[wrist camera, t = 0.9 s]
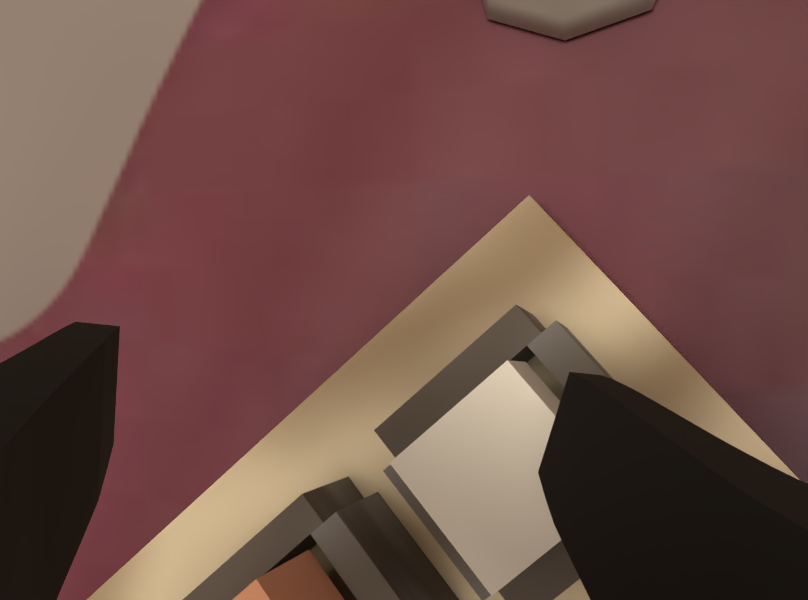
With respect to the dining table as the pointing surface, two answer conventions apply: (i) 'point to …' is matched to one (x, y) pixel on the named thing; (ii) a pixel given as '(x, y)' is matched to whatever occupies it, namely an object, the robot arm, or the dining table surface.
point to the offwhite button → (489, 474)
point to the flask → (563, 14)
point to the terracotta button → (293, 582)
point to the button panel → (421, 432)
